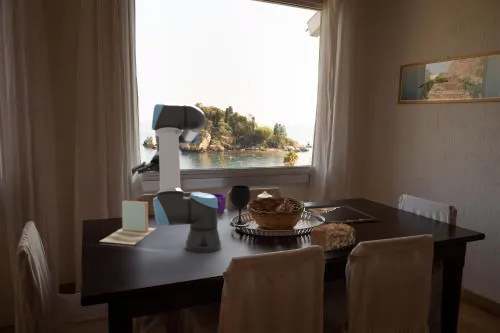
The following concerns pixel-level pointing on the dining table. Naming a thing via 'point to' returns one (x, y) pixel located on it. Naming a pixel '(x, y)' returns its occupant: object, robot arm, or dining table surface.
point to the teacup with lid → (264, 195)
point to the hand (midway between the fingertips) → (146, 182)
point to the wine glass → (240, 199)
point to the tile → (135, 216)
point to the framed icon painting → (330, 208)
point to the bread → (332, 236)
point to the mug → (220, 202)
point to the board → (126, 237)
